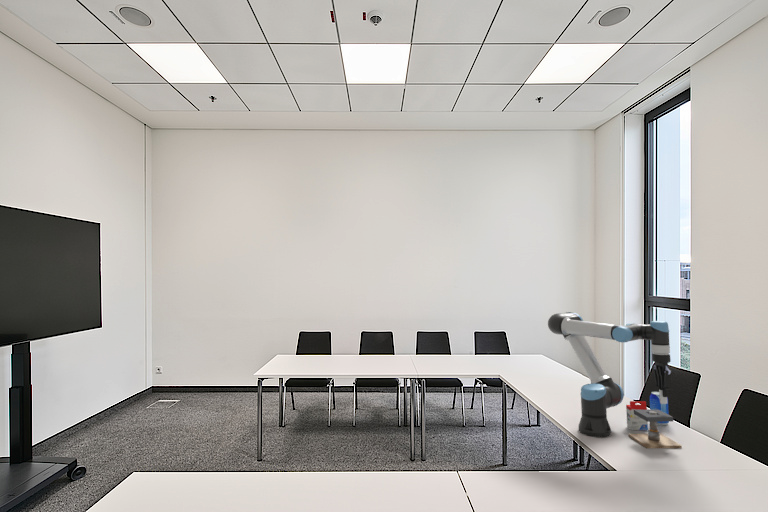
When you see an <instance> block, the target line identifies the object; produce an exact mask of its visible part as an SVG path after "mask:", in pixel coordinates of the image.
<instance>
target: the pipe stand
mask: <svg viewBox="0 0 768 512" xmlns="http://www.w3.org/2000/svg"><path fill="white" fill-rule="evenodd" d="M649 414H650V415H657V413H656V412H653V411H650V412H649ZM628 437H629V438H630V439H632V440H633V441H634V442H636V443H638V444H639V445H641V446H642V447H643V448H645V449H682V448H683V447H682V446H683V445H682V444H680V443H679V442H676V441H675V440H673V439H671V438H670V437H668V436H666V435H664V434H663V433H660V430H659V429H658V425H657V422H649V428H648V430H647V433H628Z"/></svg>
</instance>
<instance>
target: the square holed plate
mask: <svg viewBox="0 0 768 512" xmlns="http://www.w3.org/2000/svg"><path fill="white" fill-rule="evenodd" d="M650 411H653V412H656V413H657V415H650V414H649V412H650ZM634 414H635V415H637V416H638V417H640V418H642V419H643V420H645V421H647V422H648V423H650V422H665V421H669V422H674V417H673V416H672V415H670V414H669V415H668V414H666V413H664V412H662V411H660V410H650V409H647V410H634Z"/></svg>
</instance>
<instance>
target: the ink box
mask: <svg viewBox="0 0 768 512" xmlns="http://www.w3.org/2000/svg"><path fill="white" fill-rule="evenodd" d="M625 407H626V410H625V411H626V428H628V429H629V430H631V431H648V430H649V424H648V423H649V422H647V421H645V420H643V419H642V418H640V417H638V416H637V415H635V414H634V410H648V407H647V401H645V400H640V401H639V400H638V401H637V400H632V401H631V400H630V401H629V404H626V406H625Z"/></svg>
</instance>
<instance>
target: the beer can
mask: <svg viewBox="0 0 768 512" xmlns="http://www.w3.org/2000/svg"><path fill="white" fill-rule="evenodd" d="M667 403H668V404H661V403H660V394H659V391H651V393H650V395H649V410H660V411H662V412H664V413H666V414H668V415H670V414H669V412H670V411H669V398H668V397H667ZM669 423H670V421H665V422H657V426H667V425H668V424H669Z"/></svg>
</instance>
